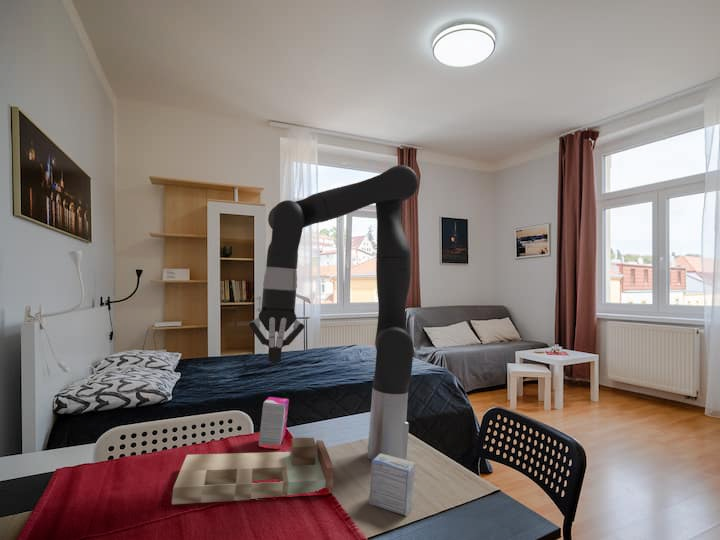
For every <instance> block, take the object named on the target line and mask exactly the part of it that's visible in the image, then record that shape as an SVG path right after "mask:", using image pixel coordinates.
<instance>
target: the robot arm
mask: <svg viewBox="0 0 720 540" xmlns="http://www.w3.org/2000/svg"><path fill="white" fill-rule="evenodd" d="M418 186H419V178H418V176H417V174H416V171H415V170H413V169H412V168H411V167H410V166H407V165H403V164H401V165H394V166H392V167H390V168H389V169H387V170H385V171H384V172H382V173H380V174H378V175H376V176H373V177H371V178H367V179H364V180H361V181H358V182H355V183H351V184H347V185H343V186H339V187H335V188H331V189H327V190H323V191H319V192H317V193H313V194H311V195H309V196H307V197H306V198H303V199H299V200H296V201H294V200H289V199H287V200H283V201H280V202H278V203H277V204H276V205H275V206H274V207H273V208H272V209H271V210H270V211H269V213H268V218H267V221H268V225H269V227H270V228H271V229H272V230H271V241H270V243H269V245H268V248H267V254H266V264H265V272H264V277H263V283H262V286H263V287H262V297H261V310H260V311H259V313H258V317H257V318H255V319H253V320H251V321H249V324H248V326H249V328H250V329H251V331H253V333H254V335H255V337H256V338H257V339H258V340H259V342H260V343H261V345H265V346H267V348H268V351H267V353H268V354H267V355H268V356H267V360H268V362H270V365H278V362H279V363H281V360H282V348H284V347H285V346H290V344H291V343H293V341H295V339H296V337H298V335H299V334H300V333H301V332H302V331H303V330H304V329H305V325H304V324H303V323H302V322H300V321H299V320H298V319H297V314H296V301H297V300H296V299H297V298H296V297H297V288H298V271H297V269H298V258H299V246H300V244H301V243H300V242H301V239H302V234H303V229H304V228H306V227H310V226H312V225H314V224H319V223H324V222H328V221H330V220H333V219H336V218H341V217H343V216H346V215H349V214H351V213H353V212H356V211H358V210H361V209H362V208H365V207H368V206H370V205H374V204H375V210H376V212H375V214H376V255H375V256H376V259H375V260H376V261H375V262H376V265H375V266H376V267H375V270H376V271H375V273H376V292H377V293H376V294H377V302H378V316H377V325H376V334H375V339H374V340H375V341H374V343H375V344H374V346H375V350H376V355H375V369H374V376H373V378H372V388H371V389H372V391H371V404H370V417H369V429H368V442H367V459H369V460H370V462H372V461H373V460H374V459H375V458H376V457H377V456H378V455H379V454H380V453H381V454H385V455H389V456H393V457H397V458H400V459H404V460H407V453H408V440H409V427H410V423H409V422H408V421H407V414H408V413H407V412H408V399H409V389H410V388H409V387H410V383H411V379H412V371H413V360H414V342H413V339H412V337H411V335H410V334H409V333H408V330H407V320H406V319H407V318H406V306H407V305H406V304H407V300H408V295H409V290H410V284H411V279H412V278H411V277H412V251H411V247H410V244H409V241H408V239H407V236H406V234H405V231H404V228H403V224H402V208H403V207H402V204H403V202H405V201H407V200H409V199H410V198H412V197H413V195H414V194H416V192H417V190H418ZM260 322H261V324H262V325H263V327H264V329H265V330H266V331H267V332H268V339H267V338H266V337H265V335H264V334H263V332H262V331H261V330H260V327H261V324H260ZM292 325H293V326H292ZM291 326H292V329H293V330H292V331H291V332H290V333H289V334H288V335H287V336H286V337H285V333H286V332H287V331H288V330H289V329H290V327H291ZM276 332H277V335H276ZM275 335H276V338H275ZM284 337H285V339H284ZM275 339H276V341H275Z"/></svg>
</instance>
